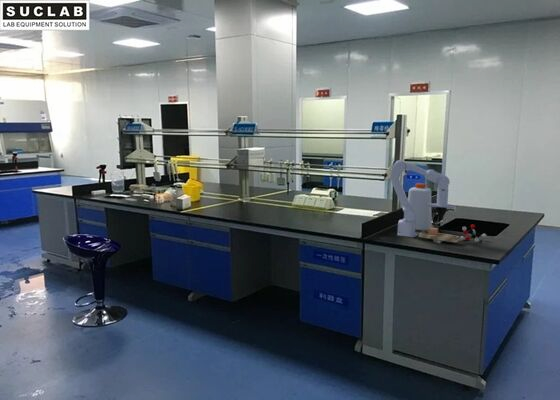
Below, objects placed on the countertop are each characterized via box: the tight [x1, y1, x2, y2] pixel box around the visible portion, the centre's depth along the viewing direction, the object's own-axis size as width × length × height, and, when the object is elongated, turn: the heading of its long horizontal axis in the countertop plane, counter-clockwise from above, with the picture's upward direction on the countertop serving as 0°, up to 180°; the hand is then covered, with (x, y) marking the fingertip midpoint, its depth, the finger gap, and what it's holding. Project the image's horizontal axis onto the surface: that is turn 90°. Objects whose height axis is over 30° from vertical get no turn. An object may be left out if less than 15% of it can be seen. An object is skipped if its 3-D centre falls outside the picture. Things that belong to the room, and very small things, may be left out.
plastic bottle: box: [407, 182, 433, 232], centre depth 265 cm, size 15×15×28 cm
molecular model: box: [459, 224, 487, 243], centre depth 236 cm, size 16×8×10 cm, turn 114°
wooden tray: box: [418, 230, 460, 244], centre depth 235 cm, size 20×7×5 cm, turn 53°
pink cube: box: [428, 227, 439, 235], centre depth 237 cm, size 4×4×4 cm
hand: (440, 220), depth 242 cm, fingers closed
